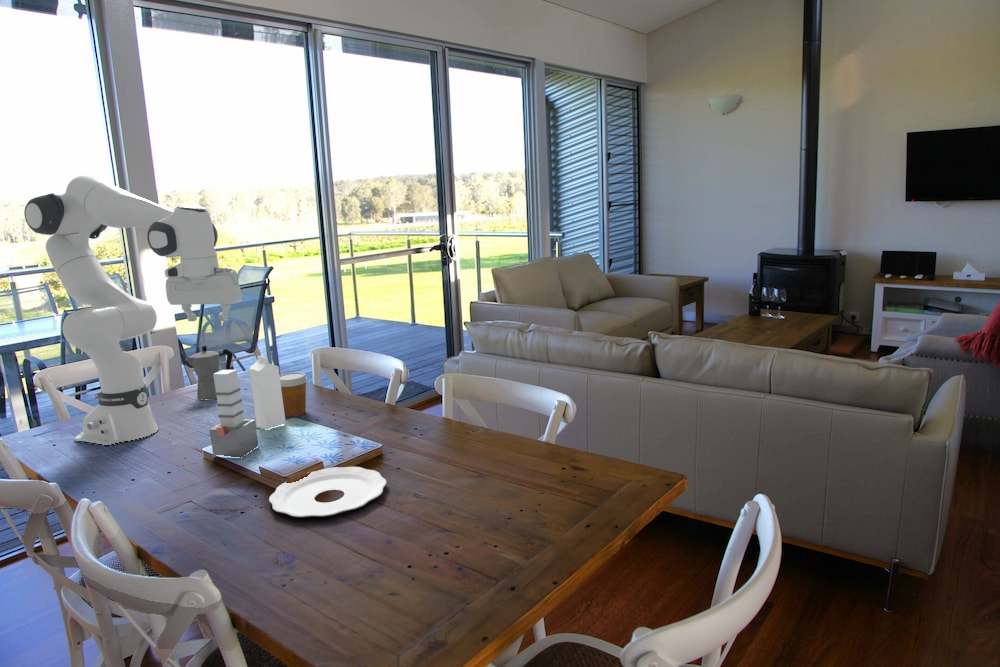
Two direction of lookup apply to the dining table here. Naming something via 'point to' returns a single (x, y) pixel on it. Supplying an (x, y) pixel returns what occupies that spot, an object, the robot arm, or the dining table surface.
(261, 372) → the milk
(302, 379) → the disposable coffee cup
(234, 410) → the column
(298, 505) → the plate
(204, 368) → the coffeepot
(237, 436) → the stand
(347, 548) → the dining table surface
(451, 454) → the dining table surface
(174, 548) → the dining table surface
